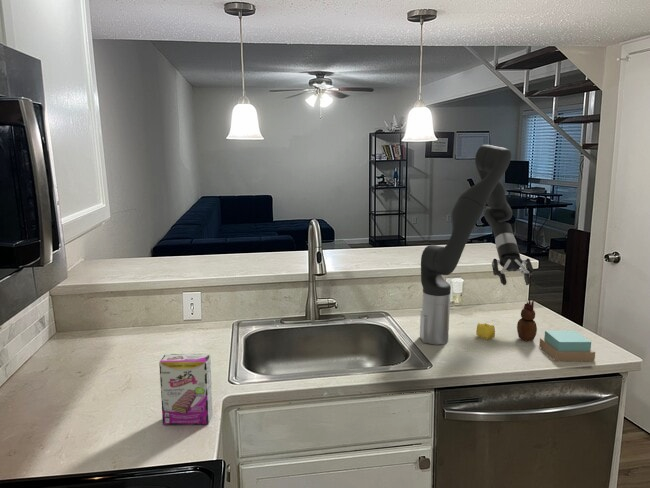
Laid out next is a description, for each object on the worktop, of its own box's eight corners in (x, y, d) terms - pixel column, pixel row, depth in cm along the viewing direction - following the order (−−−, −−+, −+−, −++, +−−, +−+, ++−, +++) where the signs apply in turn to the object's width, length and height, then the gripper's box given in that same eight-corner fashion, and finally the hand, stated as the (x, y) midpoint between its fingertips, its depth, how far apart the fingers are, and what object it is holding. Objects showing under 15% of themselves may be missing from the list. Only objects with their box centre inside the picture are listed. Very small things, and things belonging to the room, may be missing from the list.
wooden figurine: (538, 343, 166) (541, 301, 163) (521, 343, 166) (524, 301, 164) (530, 336, 173) (533, 295, 170) (514, 336, 173) (517, 295, 170)
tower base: (556, 361, 152) (557, 343, 151) (539, 346, 164) (540, 329, 163) (594, 361, 152) (596, 343, 151) (574, 346, 164) (576, 329, 163)
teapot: (501, 340, 169) (502, 326, 168) (488, 343, 167) (489, 328, 166) (485, 332, 176) (486, 319, 175) (472, 335, 174) (473, 321, 173)
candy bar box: (162, 426, 116) (157, 361, 113) (168, 415, 121) (164, 353, 118) (209, 425, 116) (206, 361, 113) (213, 414, 121) (210, 352, 118)
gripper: (491, 241, 184) (500, 279, 174) (528, 241, 184) (539, 279, 175) (485, 252, 190) (494, 289, 181) (522, 252, 190) (532, 289, 181)
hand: (516, 284), depth 178 cm, fingers open, 8 cm apart
